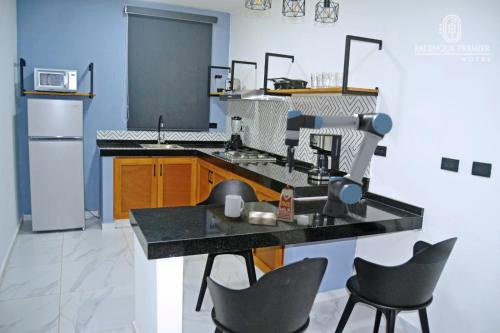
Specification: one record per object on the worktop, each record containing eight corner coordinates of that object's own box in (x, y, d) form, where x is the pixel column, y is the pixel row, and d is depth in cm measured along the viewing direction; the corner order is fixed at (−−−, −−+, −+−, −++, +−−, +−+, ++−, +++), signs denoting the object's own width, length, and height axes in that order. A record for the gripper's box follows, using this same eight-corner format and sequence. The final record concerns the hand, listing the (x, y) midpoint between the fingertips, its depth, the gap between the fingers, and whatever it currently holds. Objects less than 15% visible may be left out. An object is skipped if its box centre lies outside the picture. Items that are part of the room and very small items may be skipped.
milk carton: (292, 221, 225) (295, 185, 222) (275, 219, 226) (278, 183, 224) (294, 217, 234) (297, 183, 231) (277, 215, 235) (280, 181, 233)
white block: (307, 222, 225) (308, 215, 224) (308, 225, 219) (309, 218, 219) (296, 222, 225) (297, 214, 225) (297, 225, 219) (298, 217, 219)
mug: (248, 215, 230) (249, 197, 228) (230, 218, 222) (232, 198, 221) (238, 212, 236) (239, 194, 235) (221, 214, 229) (222, 195, 227)
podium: (274, 218, 228) (274, 212, 228) (275, 225, 214) (276, 219, 214) (249, 216, 228) (249, 210, 228) (248, 223, 214) (249, 217, 214)
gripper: (283, 136, 237) (280, 173, 239) (286, 139, 212) (282, 179, 215) (296, 137, 237) (293, 174, 239) (301, 140, 212) (297, 181, 215)
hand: (288, 177), depth 227 cm, fingers open, 13 cm apart
